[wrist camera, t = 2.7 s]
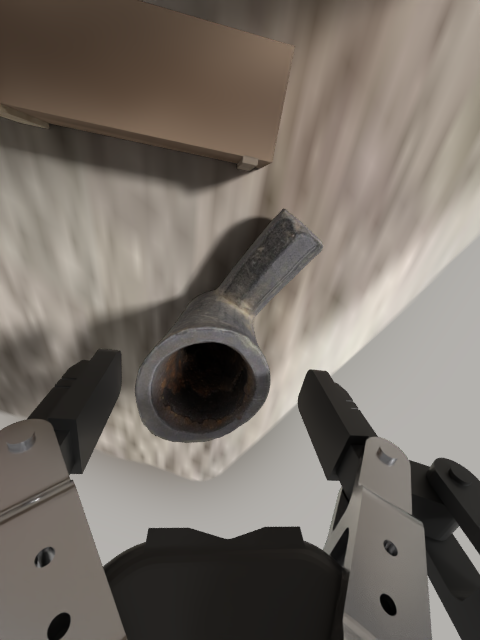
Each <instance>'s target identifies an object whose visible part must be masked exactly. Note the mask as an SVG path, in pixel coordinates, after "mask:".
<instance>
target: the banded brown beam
mask: <svg viewBox="0 0 480 640" xmlns="http://www.w3.org/2000/svg"><path fill="white" fill-rule="evenodd" d="M294 48H295V46H293V45H289V44H286V43H282V42H279V41H276V40H272V39H269V38H265V37H262V36H258V35H255V34H252V33H248V32H245V31H241V30H238V29H235V28H231V27H228V26H224V25H221V24H217V23H214V22H211V21H207V20H204V19H200V18H197V17H194V16H190V15H187V14H183V13H180V12H176V11H173V10H170V9H166V8H163V7H159V6H156V5H153V4H149V3H146V2H142V1H139V0H0V116H1V117H4V118H7V119H10V120H13V121H16V122H19V123H23V124H27V125H32V126H37V127H42V128H46V129H49V123H50V124H54V125H59V126H64V127H68V128H73V129H78V130H82V131H87V132H92V133H97V134H101V135H106V136H111V137H115V138H120V139H125V140H129V141H134V142H139V143H143V144H148V145H153V146H158V147H162V148H167V149H172V150H176V151H181V152H186V153H190V154H195V155H200V156H204V157H209V158H214V159H218V160H223V161H228V162H233V163H237V164H238V165H237V169H241V170H246V171H250V170H251V169H253V168H254V167H256V168H262V167H264V166H266V165H268V164H270V163H272V160H273V155H274V150H275V145H276V140H277V135H278V130H279V125H280V119H281V114H282V109H283V104H284V99H285V94H286V89H287V84H288V79H289V74H290V69H291V63H292V58H293V53H294Z"/></svg>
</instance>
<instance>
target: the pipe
mask: <svg viewBox="0 0 480 640" xmlns="http://www.w3.org/2000/svg"><path fill="white" fill-rule="evenodd" d="M322 248H323V243H322V242H321V241H320V239H319V238H318V237H317V236H316V235H315V234H314V233H312V232H311V231H310V230H309V229H308V228H307V227H306V226H305V225H304V224H303V223H302V222H301V221H299V220H298V219H297V218H296V217H294V216H293V215H292V214H291V213H289V212H288V211H287V210H286V209H282V211H281V212H280V213H279V214H278V215H277V216H276V217H275V218H274V219H273V220H272V221H271V222H270V223H269V225H268V226H267V227H266V228H265V229H264V231H263V232H262V233H261V234H260V236H259V237H258V238H257V239H256V241H255V242H254V243H253V244H252V245H251V247H250V248H249V249H248V250H247V252H246V253H245V254H244V255H243V256H242V258H241V259H240V260H239V261H238V263H237V264H236V265H235V266H234V268H233V269H232V270H231V272H230V273H229V274H228V276H227V277H226V278H225V280H224V281H223V282H222V284H221V285H220V286H219V287H218V288H217V289H216V290H214V291H209V292H206V293H203V294H201V295H199V296H197V297H196V298H195V299H193V300H192V301H191V302H190V303H189V305H188V306H187V307H186V309H185V310H184V312H183V313H182V314H181V316H180V317H179V319H178V320H177V322H176V323H175V324H174V326H173V327H172V328H171V329H170V331H169V332H168V333H167V334H166V335H165V337H164V338H163V339H162V340H161V341H160V342H159V343H158V344H157V345H156V346H155V347H154V349H153V350H152V351H151V352H150V353H149V355H148V356H147V357H146V358H145V360H144V362H143V363H142V365H141V367H140V368H139V371H138V375H137V379H136V385H135V396H136V403H137V407H138V411H139V414H140V417H141V420H142V422H143V424H144V425H145V426H146V427H147V428H148V430H149V431H150V432H151V433H152V434H154V435H155V436H158V437H160V438H162V439H165V440H169V441H172V442H184V443H190V442H205V441H210V440H213V439H215V438H220V437H222V436H224V435H226V434H229V433H230V432H232V431H233V430H235V429H236V428H238V427H239V426H241V425H242V424H244V423H246V422H247V421H248V420H250V419H251V418H252V417H253V416H254V415H255V414H256V413H257V412H258V410H259V409H260V408H261V407H262V405H263V404H264V402H265V400H266V398H267V396H268V393H269V388H270V371H269V367H268V364H267V361H266V358H265V356H264V355H263V353H262V352H261V350H260V348H259V346H258V344H257V341H256V337H255V332H254V327H253V318H254V317H255V316H256V315H257V314H258V313H259V312H260V311H261V309H262V308H263V307H264V306H265V305H266V304H267V303H268V302H269V301H270V300H271V299H272V298H273V297H274V296H275V295H276V294H277V293H278V292H279V291H280V290H281V289H282V288H283V287H284V286H285V285H286V284H287V283H288V282H289V281H291V280H292V279H293V278H294V277H295V276H296V275H297V274H298V273H299V272H300V271H301V270H302V269H303V268H304V267H305V266H306V265H307V264H308V263H309V262H310V261H311V260H312V259H313V258H314V257H315V256H316V255H318V254H319V253H320V252H321V251H322Z"/></svg>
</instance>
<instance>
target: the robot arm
mask: <svg viewBox="0 0 480 640" xmlns="http://www.w3.org/2000/svg"><path fill="white" fill-rule="evenodd" d="M121 384H122V366H121V351H118V350H108V349H99V350H98V351H97V352H96V354H95V355H94V356H93V358H92V359H91V360H90V361H87V360H82V361H80V362H78V363H77V364H75V365H73V366H72V367H70V368H69V369H68V370H67V372H66V373H65V374H64V375H63V376H62V379H60V380H59V381H58V382H57V384H56V385H55V387H54V388H52V390H51V391H50V392H49V393H48V394H47V396H46V397H45V398H44V399H43V400H42V402H41V403H40V404H39V405H38V406H37V408H36V409H35V410H34V411H33V412H32V414H31V415H30V416H29V417H28V418H27V420H23V421H19V422H16V423H13V424H11V425H9V426H7V427H5V428H3V429H2V430H0V640H432V634H431V619H430V605H429V592H428V577H427V575H428V576H429V579H430V581H431V583H432V584H433V586H434V588H435V590H436V592H437V594H438V596H439V598H440V599H441V602H442V603H443V605H444V607H445V609H446V611H447V613H448V615H449V617H450V618H451V620H452V622H453V624H454V626H455V628H456V630H457V632H458V634H459V636H460V638H461V639H462V640H480V574H479V573H478V571H477V570H476V568H475V567H474V565H473V564H472V562H471V561H470V559H469V558H468V556H467V555H466V553H465V552H464V551H463V549H462V547H461V546H460V544H459V543H458V541H457V540H456V538H455V537H454V535H453V534H452V533H453V532H454V531H455V530H456V529H457V528H458V527H459V526H460V527H461V529H462V530H463V532H464V533H465V534H466V536H467V537H468V538H469V540H470V541H471V543H472V544H473V546H474V547H475V549H476V550H477V551H478V553H479V554H480V481H479V480H478V479H477V478H476V477H475V476H474V475H473V474H472V473H471V472H470V471H468V470H467V469H466V468H464V467H463V466H461V465H460V464H458V463H456V462H454V461H452V460H449V459H445V458H438V459H436V460H435V461H434V462H433V464H432V465H431V467H429V466H426V465H423V464H420V463H417V462H413V461H410V460H408V458H407V456H406V455H405V454H404V452H403V451H402V450H401V449H400V448H399V447H397V446H396V445H395V444H393V443H392V442H390V441H388V440H386V439H383V438H380V437H378V436H377V435H376V433H375V432H374V430H373V429H372V427H371V426H370V425H369V423H368V422H367V420H366V419H365V417H364V416H363V414H362V413H361V411H360V410H358V407H357V406H356V404H355V403H354V402H353V400H352V398H351V397H350V396H349V394H348V393H347V391H346V390H344V389H343V388H342V387H341V386H339V384H337V383H334V381H333V380H332V378H331V376H330V375H329V373H328V372H327V371H321V370H308V372H307V374H306V376H305V379H304V382H303V385H302V388H301V391H300V393H299V396H298V408H299V412H300V414H301V416H302V419H303V421H304V424H305V426H306V428H307V431H308V434H309V436H310V438H311V441H312V444H313V446H314V449H315V451H316V453H317V456H318V458H319V461H320V463H321V466H322V468H323V471H324V473H325V476H326V478H327V480H332V481H340V483H341V485H342V487H341V489H340V490H339V493H338V497H337V501H336V505H335V509H334V514H333V517H332V521H331V525H330V529H329V534H328V537H327V540H326V543H325V546H324V548H323V550H321V549H320V548H318V547H317V546H314V545H313V544H310V543H308V542H306V541H303V537H302V534H301V530H300V527H264V528H261V529H258V530H255V531H253V532H250V533H247V534H244V535H241V536H238V537H236V538H232V539H224V538H220V537H217V536H214V535H211V534H207V533H204V532H201V531H197V530H194V529H191V528H149V529H148V534H147V539H146V542H144V543H142V544H139V545H136V546H134V547H132V548H130V549H128V550H126V551H124V552H122V553H121V554H119V555H118V556H116V557H115V558H114V559H112V560H111V561H110V562H108V563H107V564H106V565H104V567H103V566H102V563H101V560H100V557H99V554H98V551H97V549H96V545H95V542H94V539H93V536H92V533H91V531H90V528H89V525H88V522H87V519H86V516H85V513H84V510H83V507H82V504H81V501H80V498H79V495H78V492H77V489H76V486H75V484H74V482H73V480H70V477H69V475H70V474H83V471H84V469H85V467H86V465H87V463H88V461H89V459H90V457H91V454H92V452H93V450H94V448H95V446H96V444H97V442H98V439H99V437H100V435H101V433H102V431H103V429H104V427H105V425H106V422H107V420H108V418H109V416H110V414H111V412H112V410H113V408H114V405H115V403H116V401H117V399H118V397H119V394H120V390H121Z"/></svg>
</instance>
